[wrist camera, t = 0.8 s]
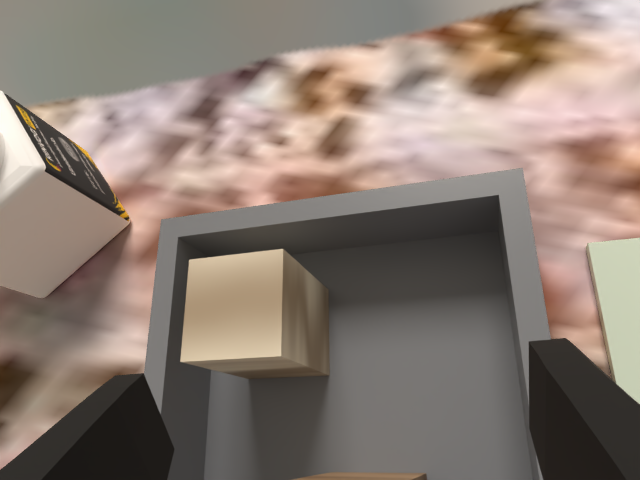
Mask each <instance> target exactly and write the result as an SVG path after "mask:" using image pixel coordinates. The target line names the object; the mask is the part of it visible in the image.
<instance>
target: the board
mask: <svg viewBox="0 0 640 480" xmlns="http://www.w3.org/2000/svg"><path fill="white" fill-rule="evenodd" d="M586 252H587V257H588V262H589V267H590V272H591V277H592V282H593V287H594V292H595V297H596V302H597V307H598V312H599V317H600V321H601V326H602V331H603V336H604V341H605V346H606V351H607V356H608V361H609V366H610V371H611V376H612V380H613V381H614V382H615V383H616V384H617V385H618V386H619V387H621V388H622V389H623V390H624V391H625V392H626V393H627V394H628V395H630V396H631V397H632V398H633V399H634V400H635V401H636V402H638V403H639V404H640V238H633V239H624V240H614V241H604V242H594V243H588V244H587V246H586Z"/></svg>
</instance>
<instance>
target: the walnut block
mask: <svg viewBox="0 0 640 480" xmlns="http://www.w3.org/2000/svg"><path fill="white" fill-rule="evenodd" d="M292 480H427V476H426V473H359V472H330V473H324V474H319V475H314V476H308V477H303V478H298V479H292Z"/></svg>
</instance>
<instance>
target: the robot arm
mask: <svg viewBox="0 0 640 480" xmlns="http://www.w3.org/2000/svg"><path fill="white" fill-rule="evenodd" d="M529 429H530V433H531V437H532V441H533V444H534V448H535V452H536V456H537V459H538V463H539V466H540V470H541V473H542V477H543V480H640V404H639V403H638V402H636V401H635V400H634V399H633V398H632V397H631V396H630V395H628V394H627V393H626V392H625V391H624V390H623V389H622V388H621V387H619V386H618V385H617V384H616V383H615V382H614V381H613V380H612V379H610V378H609V377H608V376H607V375H606V374H605V373H604V372H603V371H602V370H601V369H599V368H598V367H597V366H596V365H595V364H594V363H593V362H592V361H591V360H590V359H589V358H588V357H586V356H585V355H584V354H583V353H582V352H581V351H580V350H579V349H578V348H577V347H576V346H575V345H573V344H572V343H571V342H570V341H569V340H567V339H566V338H562V339H550V340H538V341H529ZM174 450H175V449H174V446H173V444H172V441H171V439H170V437H169V434H168V432H167V429H166V427H165V424H164V422H163V419H162V417H161V414H160V412H159V410H158V407H157V405H156V402H155V400H154V397H153V395H152V392H151V390H150V388H149V385H148V383H147V380H146V378H145V375H144V373H142V374H130V375H118V376H114V377H113V378H112V379H110V380H109V381H107V382H106V383H105V384H103V385H102V386H101V387H100V388H98V389H97V390H96V391H95V392H93V393H92V394H91V395H90V396H88V397H87V398H86V399H85V400H84V401H82V402H81V403H80V404H79V405H78V406H76V407H75V408H74V409H73V410H72V411H70V412H69V413H68V414H67V415H66V416H65V417H63V418H62V419H61V420H60V421H59V422H58V423H56V424H55V425H54V426H53V427H52V428H50V429H49V430H48V431H47V432H46V433H44V434H43V435H42V436H41V437H40V438H38V439H37V440H36V441H35V442H34V443H33V444H31V445H30V446H29V447H28V448H27V449H25V450H24V451H23V452H22V453H21V454H19V455H18V456H17V457H16V458H15V459H13V460H12V461H11V462H10V463H8V464H7V465H6V466H5V467H3V468H2V469H1V470H0V480H167V478H168V474H169V470H170V466H171V462H172V458H173V454H174Z"/></svg>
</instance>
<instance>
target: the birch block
mask: <svg viewBox="0 0 640 480" xmlns="http://www.w3.org/2000/svg"><path fill="white" fill-rule="evenodd" d="M180 362H183V363H187V364H191V365H195V366H199V367H203V368H207V369H211V370H215V371H218V372H222V373H226V374H230V375H234V376H238V377H242V378H246V379H260V378H283V377H305V376H328V375H330V362H329V290H328V289H327V288H326V287H325V286H324V285H323V284H322V283H321V282H319V281H318V280H317V279H316V278H315V277H314V276H313V275H312V274H311V273H310V272H308V271H307V270H306V269H305V268H304V267H303V266H302V265H301V264H300V263H298V262H297V261H296V260H295V259H294V258H293V257H292V256H291V255H290V254H288V253H287V252H286V251H285V250H284V249H276V250H268V251H259V252H251V253H242V254H234V255H225V256H217V257H208V258H199V259H191V260H189V268H188V279H187V291H186V302H185V313H184V325H183V336H182V348H181V359H180Z"/></svg>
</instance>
